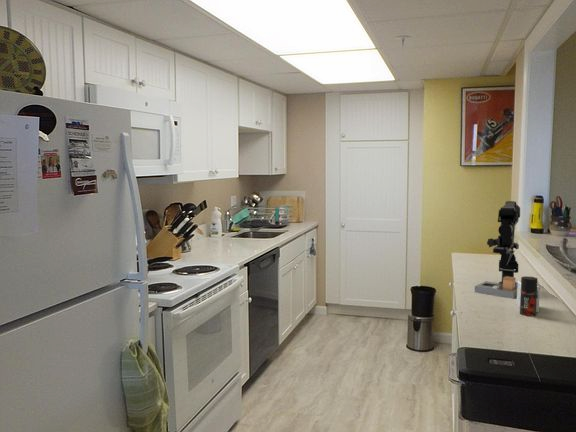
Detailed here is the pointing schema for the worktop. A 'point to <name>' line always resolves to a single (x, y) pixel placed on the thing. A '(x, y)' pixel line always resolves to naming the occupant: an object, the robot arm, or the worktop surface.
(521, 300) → the deodorant
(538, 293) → the light bulb box
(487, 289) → the socket plate
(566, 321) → the worktop surface
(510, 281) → the orange rectangular block
